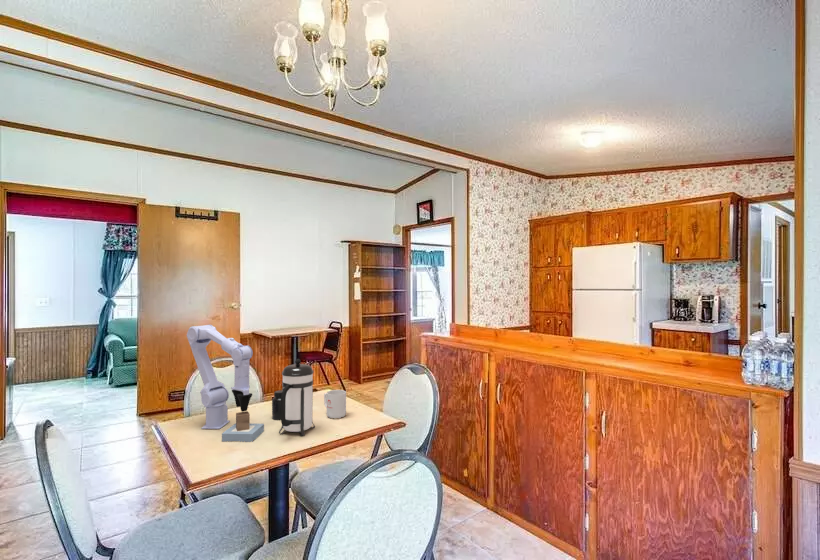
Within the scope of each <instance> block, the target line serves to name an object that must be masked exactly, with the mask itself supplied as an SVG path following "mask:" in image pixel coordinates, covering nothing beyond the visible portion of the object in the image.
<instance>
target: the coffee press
mask: <svg viewBox="0 0 820 560" xmlns="http://www.w3.org/2000/svg"><path fill="white" fill-rule="evenodd" d="M301 361H302V360H301V359H300V358H297V359H295V361H294V364H289V365H287V366H285V367H284V368H283V370H282V372H281V375H282V381H281V382H282V383H281V386H282V388H281V390H282V395H281V420H280V422H281V427H280V429H279V431H278V433H279V434H280V435H281V434H282V435H284V433H285V432H291V433H292V432H293V433H299V435H300V437H305V436H306V435H305V431H306V430H308V429H310V428H311V429H313V428H314V429H315V428H316V426H315V423H313V402H314V401H313V400H314V399H313V397H314V395H313V393H314V392H313V391H314V387H313V385H314V378H313V377H314V375H313V374H314V371H315V370H314V369H313V368H312V366H311V365H309V364H306V363H301ZM312 425H313V426H312ZM282 430H283V431H282ZM281 431H282V432H281Z"/></svg>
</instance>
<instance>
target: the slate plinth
mask: <svg viewBox="0 0 820 560" xmlns="http://www.w3.org/2000/svg"><path fill="white" fill-rule="evenodd" d="M264 431H265V424H264V423H251V422H250V425H249V430H242V431H237V429H236V422H235V423H234V424H233V425H231V426H230V427H229V428H227V429H226V430H225V431H223V432H222V433H221V442H227V441H228V442H229V441H240V443H241V441H242V443H244V441H245V443H248V442H249V443H253V442H254V441H255V440H256V439H257V438H258V437H259V436H260V435H261V434H262V433H263V432H264ZM253 440H254V441H253ZM251 441H252V442H251ZM228 442H227V443H228ZM229 443H230V442H229Z"/></svg>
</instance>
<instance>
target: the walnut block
mask: <svg viewBox="0 0 820 560" xmlns="http://www.w3.org/2000/svg"><path fill="white" fill-rule="evenodd" d="M250 415H251V414H250V412H249V411H248V410H247V411H243V412H242V411H239V412H236V413H235V423H236V429H237V431H242V430H249V425H250V423H251V422H250V420H251V419H250Z"/></svg>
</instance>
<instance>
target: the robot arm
mask: <svg viewBox="0 0 820 560" xmlns="http://www.w3.org/2000/svg"><path fill="white" fill-rule="evenodd" d="M186 339H187V341H188V343H189V344H188V345H189V347H190V350H191V352H192V355H193V358H194V360H195V364H196V366H197V368H198V369H197V370H198V371H199V374H200V377H201V380H202V384H203V387H202V388H201V390H200V396H201V397H200V398H201V399H200V401H201V403H202V404H203V406H204V408H205V424H204V425H203V426H202V427H201V430H208V429H209V430H221V429H222V428H223V427H225V426H226V425H227V424H229V423H230V420H229V419H228V418H229V417H228V416H229V415H228V409H229V408H228V405H227V401H228V399H229V397H230V393H229V390H228V389H227V388H226V387H225V384H224V383H223V382H221V381H219V380H218V379H217V376H216V373H215V371H214V367H213V364H212V362H211V359H210V357H209V356H210V355H209V354H208V351H207V346H208V345H209V344H210V343H211V341H213V342H215V343H216V344H218V345H219V346H221V347H220V348H221V350H222V351H224V352H226V353H227V354H229V355H230V356H231V359H232V361H233V366H234V382H233V383H234V385H233V386H232V387H231V388H230V389H231V393H232V395H233V398H234V400H235V401H234V402H235V406H236V407H237V408H238V407H239V408H240V412H246V411H248V408H249V403H250V400H251V398H253V397H252V396H253V392H250V388H251V387H250V359H252V357H253V353H254V352H253V349H252V347H251V346H250V345H243V344H242V343H240V342H238V341H236V340H235V338H233V337H226V336H225V335H224V334H222V333H220V332H219V331H218V330H217V327H216V326H213V325H212V324H205V325H196V326H195V325H193V326H190V327H189V328H188V330H187V332H186Z"/></svg>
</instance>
